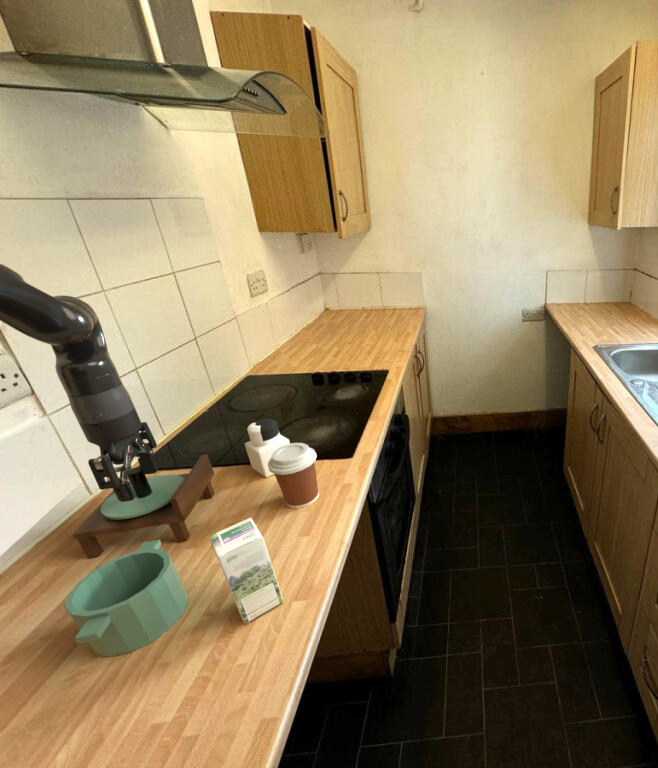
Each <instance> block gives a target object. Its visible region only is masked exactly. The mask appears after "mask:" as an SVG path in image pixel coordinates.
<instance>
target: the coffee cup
mask: <svg viewBox="0 0 658 768" xmlns="http://www.w3.org/2000/svg"><path fill="white" fill-rule="evenodd" d="M317 457H318V455H317V452H316V450H315V449H314V448H312V447H309V445H308V444H307V443H304V442H293V443H292V442H290V444H288V445H284V446H282V447H280V448H278V449H277V450H276V451H274V452H273V454H272V456H271V459H270V460H269V462H268V464H267V465H268V468H269V471H270V472H272V473H274V474H273V475H274V476H275V479H276V481H277V483H278V486H279V488H280V491H281V494H282V496H283V498H284V500H285V503H286V506H287V507H288V508H290V509H302V508H305V507H308V506H310V505H311V504H313V503H315V502H316V501H317V500H318V499H319V497H320V492H319V485H318V479H317V471H316V464H315V462H316V460H317Z"/></svg>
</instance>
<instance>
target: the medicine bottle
mask: <svg viewBox="0 0 658 768" xmlns="http://www.w3.org/2000/svg"><path fill="white" fill-rule="evenodd" d="M278 426H279V425H278V423H277V421H276V420H275V419H272V418H263V419H259V420H255V421H253V422H251V423H250V424H248V426H247V428H246V429H247V434H248V437H249V441H247V442H245V443H244V447H245V450H246V453H247V457H248V459H249V462H250V466H251V469H253V470H254V471H256V472H257V473H259V474H260V475H261V476H262V477H264V478H269V477H271V476H273V475H275V474H274V473H272V472H270V471H269V468H268V465H267V464H268V462H269V460H270V459H271V456H272V454H273V452H274V451H276V450H277V449H278V448H280V447H282V446H284V445H288V444H291V442H290V439H289V438H287V437H285V436H284V435H282V434H281V432H280V430H279V427H278Z"/></svg>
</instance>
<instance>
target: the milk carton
mask: <svg viewBox="0 0 658 768" xmlns="http://www.w3.org/2000/svg"><path fill="white" fill-rule="evenodd" d="M208 538H209V541H210V544H211V546H212V548H213V550H214V553H215V556H216V558H217V561H218V563H219V566H220V567H221V568H220V569H221V571H222V573H223V576H224V579H225V581H226V584H227V586H228V588H229V591H230V593H231V596H232V598H233V601H234V604H235V605H236V608H237V609H238V613H239V615H240V617H241V619H242V621H243V624H244V625H248V624H249V623H251V622H253V621H254V620H257V619H258V618H260V617H261V616H263V615H265V614H266V613H268V612H270V611H271V610H273V609H276V608H277V607H278V606H280V605H282V604H283V603H284V597H283V595H282V592H281V589H280V585H279V582H278V580H277V577H276V574H275V573H276V572H275V571H274V567H273V564H272V561H271V557H270V555H269V551H268V549H267V546H266V542H265V539H264V536H263V535H262V533H261V532H260V530H259V529H258V527H257V525H256V524H255V522H254V520H253V518H252V517H248V518H246V519H244V520H241V521H240V522H237V523H235V524H233V525H231V526H228V527H226V528H224V529H221V530H219V531H217V532H215V533H212V534H211V535H208Z"/></svg>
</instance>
